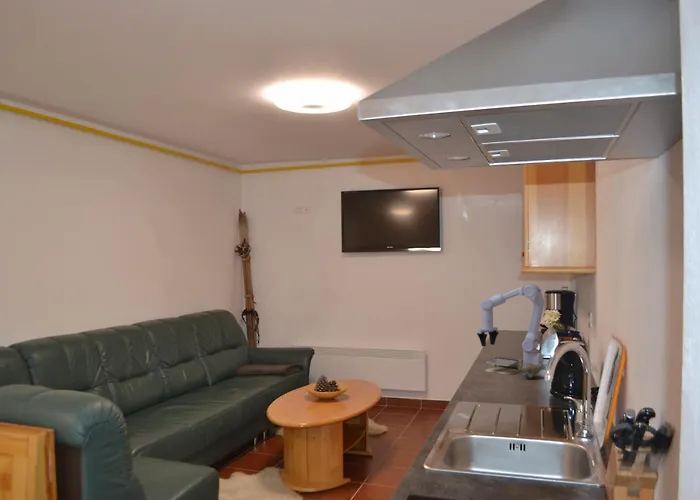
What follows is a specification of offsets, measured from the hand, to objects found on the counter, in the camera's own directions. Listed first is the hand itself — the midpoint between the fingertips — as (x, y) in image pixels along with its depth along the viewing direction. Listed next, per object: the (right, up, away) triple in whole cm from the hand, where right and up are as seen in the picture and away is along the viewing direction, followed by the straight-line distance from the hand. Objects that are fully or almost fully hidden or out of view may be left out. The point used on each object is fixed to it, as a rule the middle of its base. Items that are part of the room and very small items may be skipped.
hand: (488, 345), depth 300 cm
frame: (+3, -10, -19) cm, 22 cm away
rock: (+8, -7, -31) cm, 33 cm away
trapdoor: (+4, -9, -18) cm, 20 cm away
